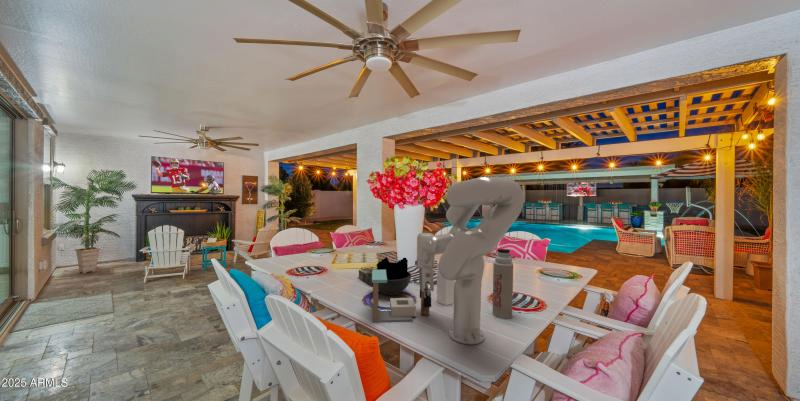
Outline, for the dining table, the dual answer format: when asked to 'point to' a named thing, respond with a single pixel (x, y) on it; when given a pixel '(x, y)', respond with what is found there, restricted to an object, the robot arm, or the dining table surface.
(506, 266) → the thermos bottle
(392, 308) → the socket station
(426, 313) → the peg
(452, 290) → the milk
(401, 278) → the coal bowl
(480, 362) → the dining table surface
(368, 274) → the juice carton
